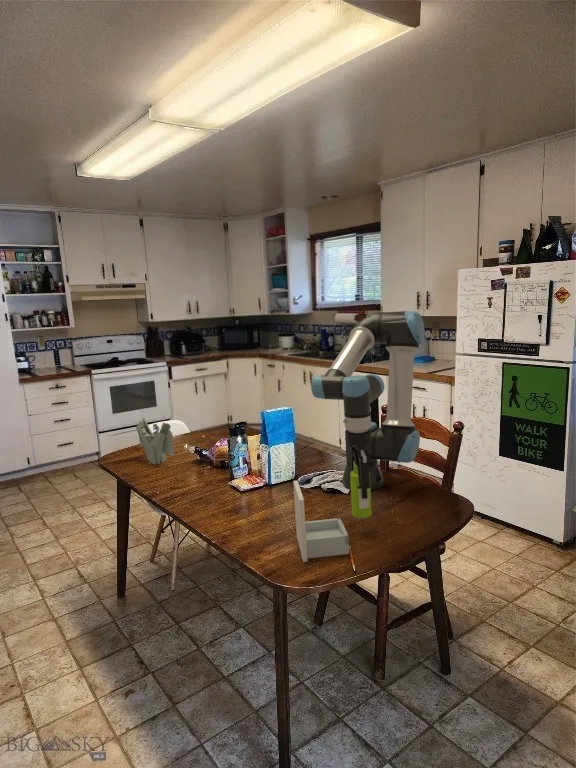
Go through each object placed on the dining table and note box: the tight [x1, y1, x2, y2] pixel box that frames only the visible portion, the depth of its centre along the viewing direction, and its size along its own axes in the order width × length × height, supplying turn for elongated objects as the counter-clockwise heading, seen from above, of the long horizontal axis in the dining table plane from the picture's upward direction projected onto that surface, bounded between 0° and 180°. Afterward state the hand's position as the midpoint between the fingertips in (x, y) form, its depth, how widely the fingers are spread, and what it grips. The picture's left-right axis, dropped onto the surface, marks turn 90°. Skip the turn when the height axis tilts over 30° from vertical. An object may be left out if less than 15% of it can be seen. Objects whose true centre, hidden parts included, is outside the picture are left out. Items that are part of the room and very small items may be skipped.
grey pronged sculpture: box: [135, 417, 175, 465], centre depth 224 cm, size 28×7×20 cm, turn 49°
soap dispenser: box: [350, 461, 373, 519], centre depth 146 cm, size 6×7×20 cm
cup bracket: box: [292, 480, 350, 563], centre depth 139 cm, size 13×14×18 cm
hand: (361, 502), depth 147 cm, fingers closed on soap dispenser, 6 cm apart
